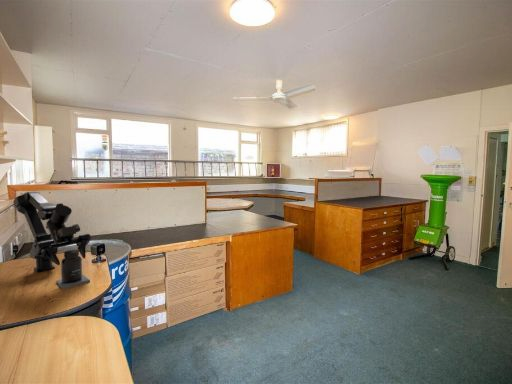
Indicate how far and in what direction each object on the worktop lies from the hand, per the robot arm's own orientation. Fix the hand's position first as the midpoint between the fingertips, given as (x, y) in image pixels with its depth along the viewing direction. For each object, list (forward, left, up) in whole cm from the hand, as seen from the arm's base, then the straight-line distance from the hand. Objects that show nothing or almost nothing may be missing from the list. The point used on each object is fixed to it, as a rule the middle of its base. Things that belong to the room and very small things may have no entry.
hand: (72, 261), depth 104 cm
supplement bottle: (0, 0, -8) cm, 8 cm away
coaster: (0, 0, -9) cm, 9 cm away
